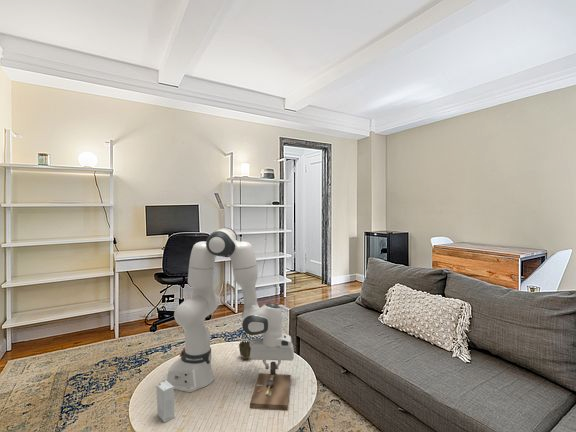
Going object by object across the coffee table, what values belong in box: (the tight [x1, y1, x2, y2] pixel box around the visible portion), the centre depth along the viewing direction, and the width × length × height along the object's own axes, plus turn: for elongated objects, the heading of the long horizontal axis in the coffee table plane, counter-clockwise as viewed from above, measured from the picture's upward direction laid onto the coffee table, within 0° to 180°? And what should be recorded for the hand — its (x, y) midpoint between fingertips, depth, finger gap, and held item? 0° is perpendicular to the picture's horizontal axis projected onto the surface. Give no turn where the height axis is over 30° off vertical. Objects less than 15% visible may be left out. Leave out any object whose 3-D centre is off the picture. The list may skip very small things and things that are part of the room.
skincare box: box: [156, 381, 176, 423], centre depth 118 cm, size 6×4×12 cm
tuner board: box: [249, 372, 292, 411], centre depth 134 cm, size 15×22×2 cm
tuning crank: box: [266, 361, 277, 395], centre depth 136 cm, size 16×3×6 cm, turn 174°
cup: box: [238, 340, 251, 361], centre depth 163 cm, size 8×7×8 cm
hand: (271, 368), depth 143 cm, fingers open, 3 cm apart
